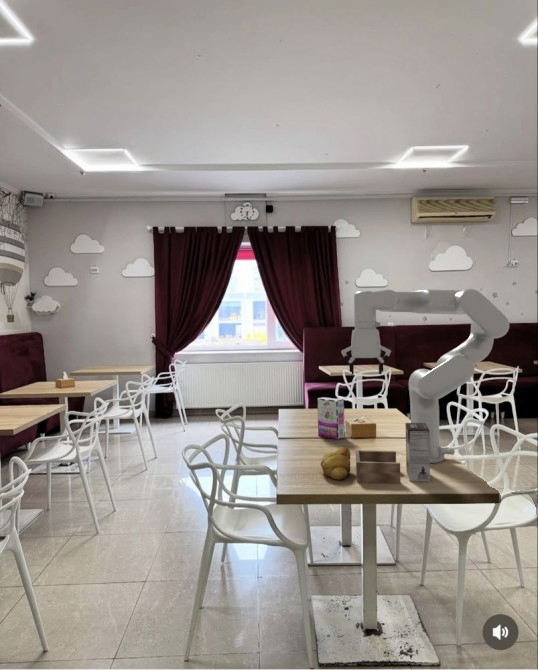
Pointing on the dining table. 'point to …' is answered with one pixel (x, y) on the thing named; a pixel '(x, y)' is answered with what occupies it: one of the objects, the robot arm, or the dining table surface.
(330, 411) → the candy bar box
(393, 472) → the open side box
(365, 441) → the dining table surface
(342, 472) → the bread roll
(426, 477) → the coffee box
